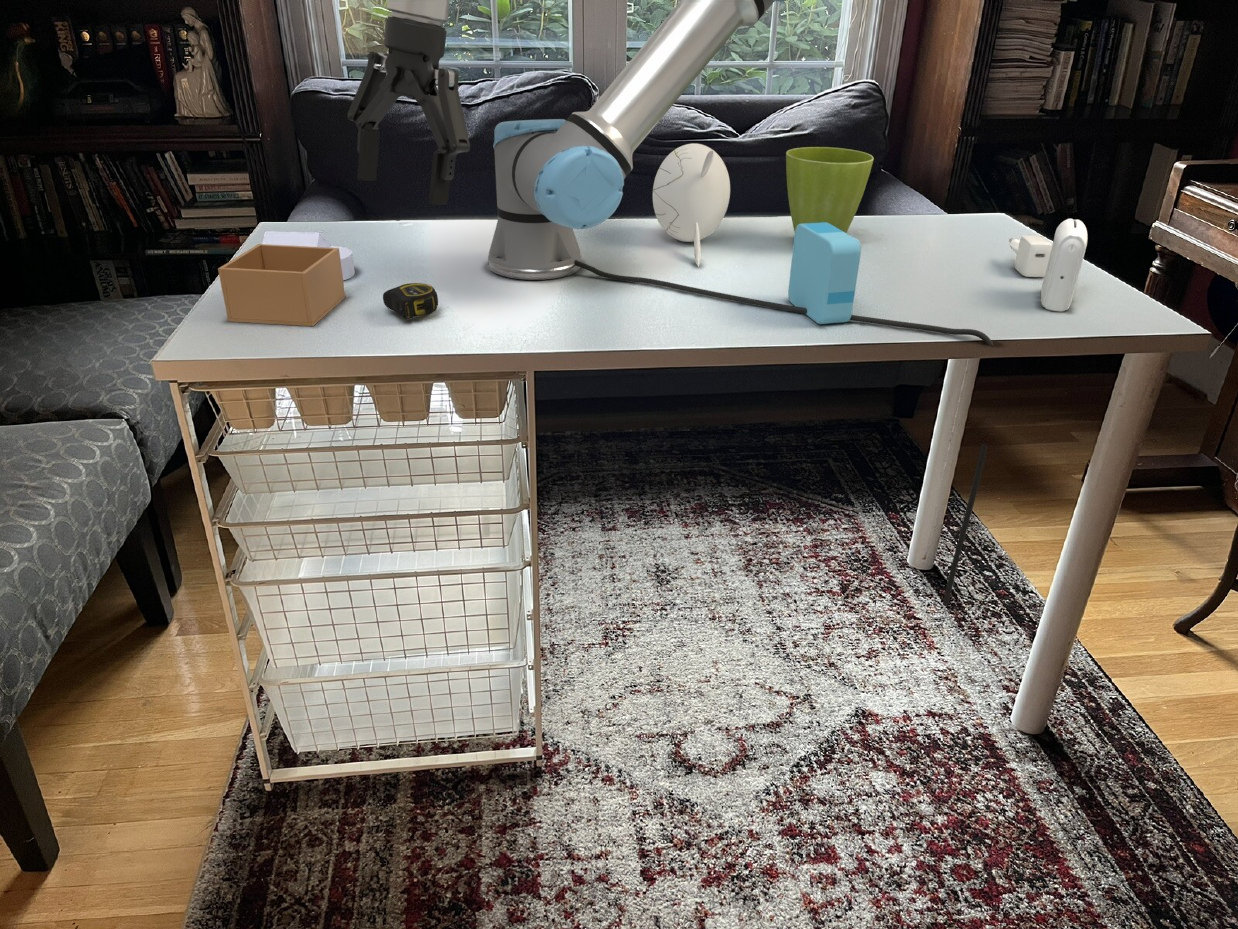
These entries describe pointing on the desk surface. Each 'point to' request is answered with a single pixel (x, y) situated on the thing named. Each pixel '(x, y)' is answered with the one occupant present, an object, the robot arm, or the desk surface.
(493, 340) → the desk surface
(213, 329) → the desk surface
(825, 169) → the flower pot
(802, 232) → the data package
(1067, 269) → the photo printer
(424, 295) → the tape measure
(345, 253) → the wedge on round base
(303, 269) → the box
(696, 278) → the desk surface
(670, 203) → the cracked egg ornament
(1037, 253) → the power adapter
